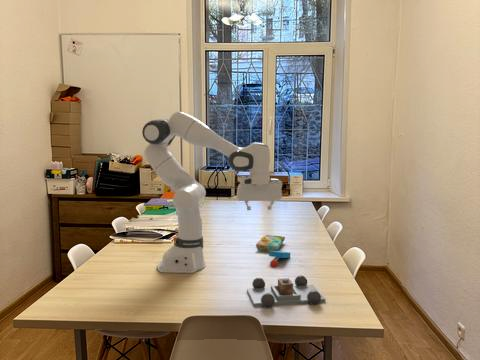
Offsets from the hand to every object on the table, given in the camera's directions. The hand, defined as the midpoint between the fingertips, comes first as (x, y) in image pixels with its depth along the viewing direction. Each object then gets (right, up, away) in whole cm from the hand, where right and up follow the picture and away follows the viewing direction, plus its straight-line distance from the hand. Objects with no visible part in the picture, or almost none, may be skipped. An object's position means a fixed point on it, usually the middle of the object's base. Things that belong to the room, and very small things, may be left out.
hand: (259, 209), depth 189 cm
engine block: (+9, -31, -22) cm, 40 cm away
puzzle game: (+8, -24, +43) cm, 50 cm away
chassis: (+9, -33, -22) cm, 41 cm away
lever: (+11, -27, +20) cm, 35 cm away
